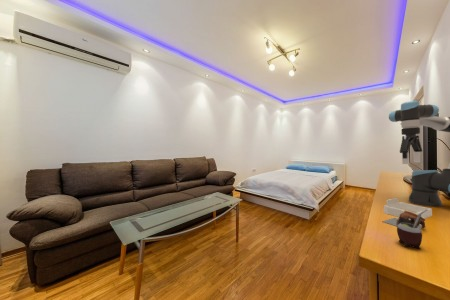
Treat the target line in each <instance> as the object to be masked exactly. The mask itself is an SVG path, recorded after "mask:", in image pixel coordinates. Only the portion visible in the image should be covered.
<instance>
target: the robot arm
mask: <svg viewBox="0 0 450 300" xmlns="http://www.w3.org/2000/svg"><path fill="white" fill-rule="evenodd" d="M439 111H440V108H439V107H438V106H437V105H435V104H431V103H430V104H420V101H419V100H411V101H406V102H405V101H404V102H402V103H401V104H400V109H397V110H394V111H391V112H390V113H389V114H388V119H389V121H390V122H392V123H393V122H394V123H398V122H400V125H401V135H402V137H401V144H400V147H399V153H400V154H401V157H402V158H401V159H402V160H401V161H402V162H401V163H402V164H401V165H410V153H409V151H410V148H411V147H412V150H413V153H412V155H413V156H412V157H413V159H412V160H413V163H421V153H422V152H423V149H422V145H421V141H420V133H421V128H420V127H421V126H422V127H428V128H431V129H433V130H435V131H439V132H444V133H450V116H437V115H438V114H439ZM439 192H442V193H443V192H444V193H449V194H450V162H449V164H448V166H447V167H445V168H442V171H441V172H439V171H438V170H436V169H433V170H432V169H429V170H428V169H425V170H424V169H422V170H419V169H417V170H413V171H412V172H411V192H410V194H409V196H408V202H410V204H413V205H418V206H423V207H424V206H425V207H435V208H439V207H442V206H443V202H442V200H441V198H440V195H439Z"/></svg>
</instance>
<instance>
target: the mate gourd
mask: <svg viewBox="0 0 450 300" xmlns="http://www.w3.org/2000/svg"><path fill="white" fill-rule="evenodd" d="M426 211H427V210H425V211H423V212H421V213H420V214H418V217H417V219H416V222H415V224H414V225H413V224H409V223H400V224H399V225H398V227H397V226H396V233H397V236H398V239H399V240H398V242H399V243H400V244H401V243H402V244H404V245H403V247H404V248H409V247H412V248H415V249H418V250H421V244H422V239H423V234H422V230H421V229H419V227H417V226H416V225H417V222H418V220H419V218H420V217H421V215H422V214H423V213H424V212H426Z"/></svg>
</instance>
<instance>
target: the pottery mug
mask: <svg viewBox="0 0 450 300" xmlns="http://www.w3.org/2000/svg"><path fill="white" fill-rule="evenodd" d="M411 212H412V211H409V212H408V210H405V211H404V213H401V214H400V216H399V217H398V219H399V220H397V223H396V224H398V225H399V224H400V223H409V224H413V225H414V224H415V222H416V219H417V217H418V215H416V214H414V213H415V212H413V213H411ZM409 218H410V219H411V220H409ZM425 221H426V218H425V219H424V218H422V217H420V218H419V220H418V222H417V225H416V226H417V227H418V226H419V225H422V229H425V228H426V227H425V226H426V222H425Z"/></svg>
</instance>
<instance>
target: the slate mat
mask: <svg viewBox="0 0 450 300" xmlns="http://www.w3.org/2000/svg"><path fill="white" fill-rule="evenodd" d="M397 220H399V217H398V218H397V217H393V218H392V217H391V218H388V219H385V220H382V223H383V224H387V225H391V226H394V227H396V228H397V227H398V224H396V223H397ZM418 227H419V229H420V230H421V229H423V228H422V225H421V224H419V226H418ZM425 228H427V226H426V225H425Z"/></svg>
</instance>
